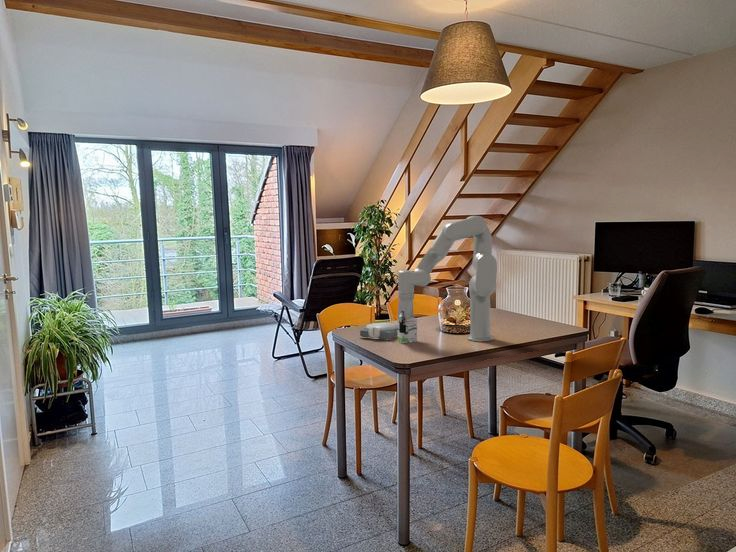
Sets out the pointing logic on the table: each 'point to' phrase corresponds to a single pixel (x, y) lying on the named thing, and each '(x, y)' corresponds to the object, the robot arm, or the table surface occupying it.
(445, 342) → the table surface
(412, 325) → the ink box
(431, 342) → the table surface
